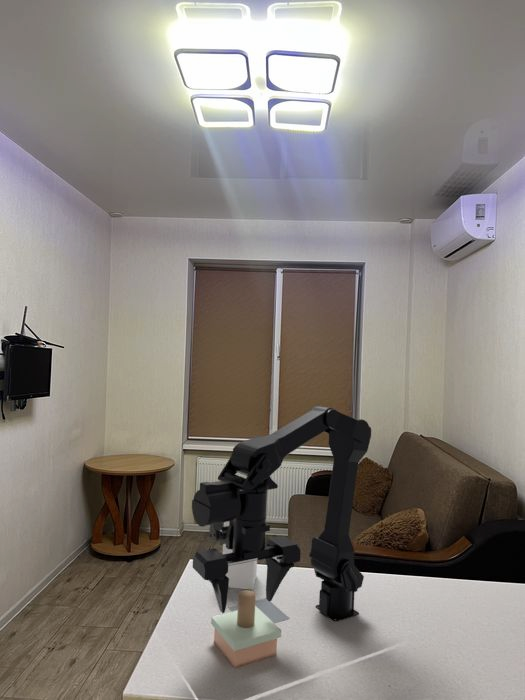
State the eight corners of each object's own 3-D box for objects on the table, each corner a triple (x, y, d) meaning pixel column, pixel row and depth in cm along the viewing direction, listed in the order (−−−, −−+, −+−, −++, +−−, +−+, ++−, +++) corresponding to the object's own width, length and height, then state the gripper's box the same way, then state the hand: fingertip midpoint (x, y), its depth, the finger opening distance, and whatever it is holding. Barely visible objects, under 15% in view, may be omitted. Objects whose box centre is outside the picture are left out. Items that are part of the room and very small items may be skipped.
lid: (255, 612, 90) (256, 578, 90) (281, 637, 83) (282, 600, 83) (211, 623, 86) (212, 588, 86) (234, 651, 78) (235, 612, 78)
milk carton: (256, 577, 113) (260, 495, 113) (252, 591, 106) (256, 504, 106) (226, 574, 113) (230, 493, 114) (220, 588, 106) (224, 502, 107)
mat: (266, 600, 102) (266, 597, 102) (289, 621, 94) (290, 618, 94) (228, 609, 97) (228, 607, 97) (249, 632, 90) (249, 629, 90)
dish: (253, 633, 89) (254, 614, 90) (276, 657, 83) (277, 636, 83) (213, 644, 85) (214, 624, 86) (234, 670, 79) (235, 649, 79)
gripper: (271, 497, 96) (267, 576, 96) (182, 508, 87) (178, 596, 86) (303, 514, 87) (300, 602, 86) (208, 529, 77) (203, 627, 77)
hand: (246, 605), depth 84 cm, fingers open, 9 cm apart
